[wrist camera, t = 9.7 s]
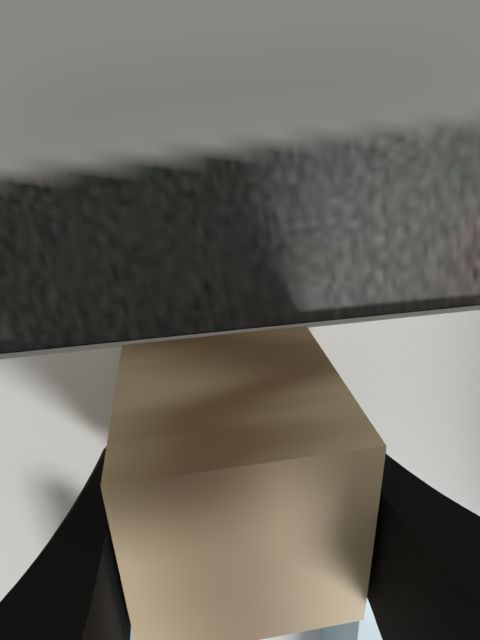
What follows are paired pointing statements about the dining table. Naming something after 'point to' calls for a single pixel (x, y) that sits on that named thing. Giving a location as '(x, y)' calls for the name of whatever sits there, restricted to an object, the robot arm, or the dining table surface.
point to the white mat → (333, 336)
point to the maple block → (240, 487)
